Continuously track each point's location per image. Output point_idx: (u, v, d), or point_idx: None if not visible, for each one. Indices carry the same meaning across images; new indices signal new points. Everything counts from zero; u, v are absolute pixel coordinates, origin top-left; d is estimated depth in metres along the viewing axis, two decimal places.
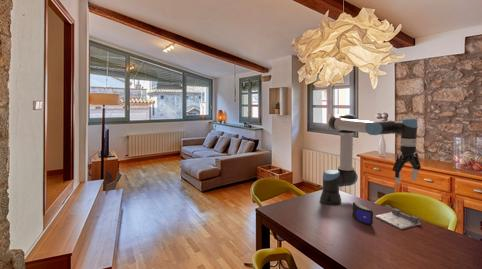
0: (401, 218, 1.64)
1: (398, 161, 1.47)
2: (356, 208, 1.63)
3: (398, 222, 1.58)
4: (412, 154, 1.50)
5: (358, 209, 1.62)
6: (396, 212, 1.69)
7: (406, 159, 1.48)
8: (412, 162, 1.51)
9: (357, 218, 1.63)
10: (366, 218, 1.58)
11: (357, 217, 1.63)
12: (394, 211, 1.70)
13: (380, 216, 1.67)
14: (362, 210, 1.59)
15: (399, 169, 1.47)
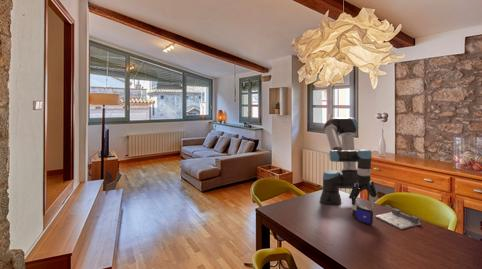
0: (401, 218, 1.64)
1: (354, 189, 1.58)
2: None
3: (398, 222, 1.58)
4: (368, 182, 1.61)
5: (358, 209, 1.62)
6: (396, 212, 1.69)
7: (361, 187, 1.59)
8: (368, 190, 1.62)
9: (357, 218, 1.63)
10: (366, 218, 1.58)
11: (357, 217, 1.63)
12: (394, 211, 1.70)
13: (380, 216, 1.67)
14: (362, 210, 1.59)
15: (355, 197, 1.58)
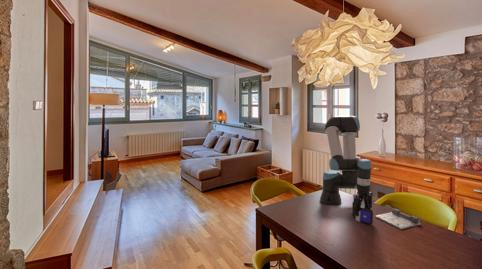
0: (401, 218, 1.64)
1: (355, 201, 1.60)
2: None
3: (398, 222, 1.58)
4: (367, 192, 1.62)
5: None
6: (396, 212, 1.69)
7: (362, 198, 1.60)
8: (365, 200, 1.63)
9: None
10: (366, 217, 1.58)
11: None
12: (394, 211, 1.70)
13: (380, 216, 1.67)
14: (362, 210, 1.60)
15: (358, 209, 1.60)
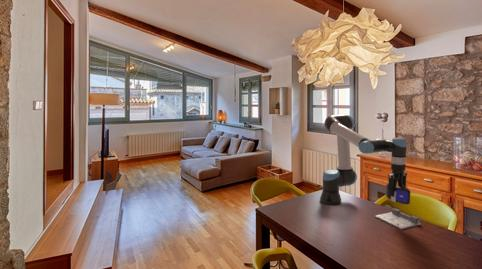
0: (401, 218, 1.64)
1: (390, 181, 1.56)
2: None
3: (398, 222, 1.58)
4: (402, 171, 1.58)
5: None
6: (396, 212, 1.69)
7: (397, 177, 1.56)
8: (400, 180, 1.59)
9: None
10: (403, 197, 1.55)
11: None
12: (394, 211, 1.70)
13: (380, 216, 1.67)
14: (398, 189, 1.56)
15: (394, 189, 1.57)
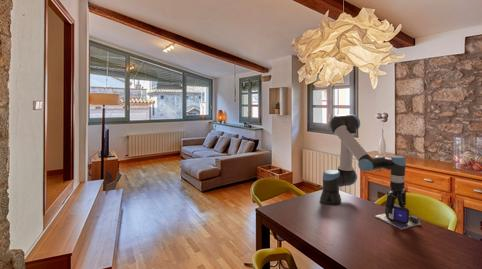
0: None
1: (389, 198, 1.57)
2: None
3: (398, 222, 1.58)
4: (401, 189, 1.59)
5: (393, 207, 1.60)
6: None
7: (396, 195, 1.57)
8: (399, 198, 1.60)
9: None
10: (402, 216, 1.56)
11: None
12: None
13: (380, 216, 1.67)
14: (397, 208, 1.58)
15: (392, 206, 1.58)
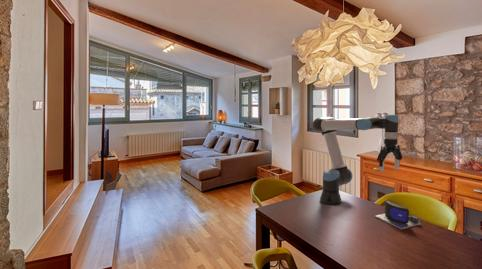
0: None
1: (382, 152, 1.68)
2: (390, 206, 1.62)
3: (398, 222, 1.58)
4: (394, 146, 1.70)
5: (393, 207, 1.60)
6: None
7: (389, 150, 1.68)
8: (394, 153, 1.72)
9: (391, 217, 1.62)
10: (402, 216, 1.56)
11: (391, 216, 1.62)
12: None
13: (380, 216, 1.67)
14: (397, 208, 1.58)
15: (382, 159, 1.67)
